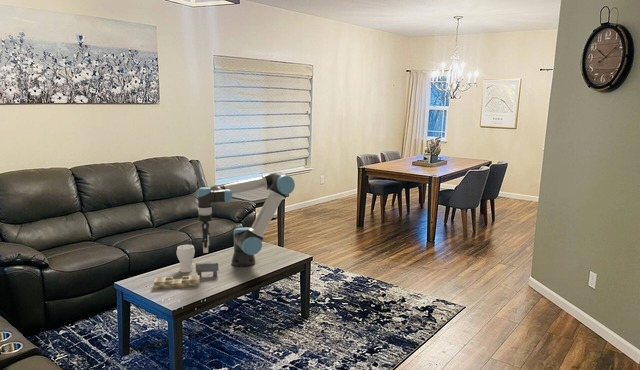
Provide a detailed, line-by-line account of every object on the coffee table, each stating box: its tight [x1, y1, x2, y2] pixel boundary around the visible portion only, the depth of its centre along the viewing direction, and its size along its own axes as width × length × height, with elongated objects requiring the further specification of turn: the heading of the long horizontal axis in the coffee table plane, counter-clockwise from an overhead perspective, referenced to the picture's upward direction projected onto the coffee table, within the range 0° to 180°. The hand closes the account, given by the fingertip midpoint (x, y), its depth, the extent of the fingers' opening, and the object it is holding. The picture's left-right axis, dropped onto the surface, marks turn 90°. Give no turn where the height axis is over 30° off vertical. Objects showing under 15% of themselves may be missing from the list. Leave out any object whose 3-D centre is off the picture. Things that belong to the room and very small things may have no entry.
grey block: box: [195, 261, 219, 278], centre depth 274 cm, size 13×3×8 cm, turn 102°
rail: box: [153, 274, 201, 290], centre depth 260 cm, size 24×7×4 cm, turn 102°
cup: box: [176, 244, 196, 273], centre depth 282 cm, size 11×11×15 cm
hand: (206, 249), depth 272 cm, fingers open, 13 cm apart
